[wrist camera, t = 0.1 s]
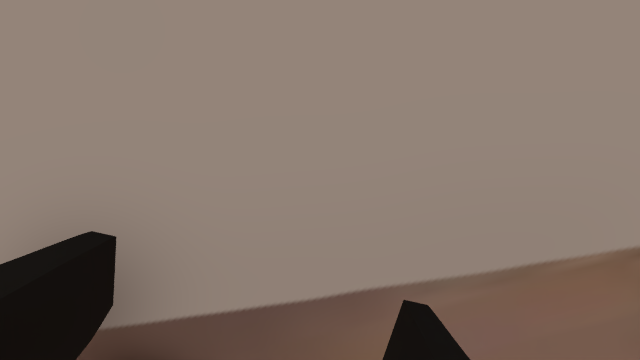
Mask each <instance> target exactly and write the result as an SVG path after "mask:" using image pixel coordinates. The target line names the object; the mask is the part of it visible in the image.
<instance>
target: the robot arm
mask: <svg viewBox="0 0 640 360" xmlns="http://www.w3.org/2000/svg"><path fill="white" fill-rule="evenodd" d="M115 252H116V237H115V236H111V235H106V234H102V233H97V232H93V231H91V232H87V233H84V234H81V235H78V236H76V237H73V238H70V239H67V240H64V241H62V242H59V243H56V244H54V245H51V246H49V247H46V248H43V249H40V250H38V251H35V252H33V253H30V254H27V255H25V256H22V257H19V258H17V259H14V260H12V261H9V262H6V263H3V264H0V360H76V359H77V357H78V356H79V355H80V354H81V352H82V351H83V350H84V349H85V347H86V346H87V345H88V343H89V342H90V341H91V339H92V338H93V336H94V335H95V333H96V332H97V330H98V328H99V327H100V325H101V324H102V322H103V320H104V319H105V317H106V315H107V314H108V312H109V311H110V309H111V307H112V306H113V295H114V273H115ZM383 360H470V359H469V358H468V356H467V355H466V354H465V353H464V351H463V350H462V349H461V347H460V346H459V345H458V343H457V342H456V341H455V340H454V338H453V337H452V336H451V334H450V333H449V332H448V330H447V329H446V328H445V326H444V325H443V324H442V322H441V321H440V320H439V319H438V317H437V316H436V315H435V313H434V312H433V311H432V310H431V308H430V307H429V306H428V305H425V304H420V303H416V302H411V301H407V300H404V301H403V303H402V306H401V309H400V312H399V315H398V318H397V320H396V323H395V326H394V329H393V332H392V335H391V337H390V340H389V343H388V346H387V349H386V352H385V354H384V357H383Z"/></svg>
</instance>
